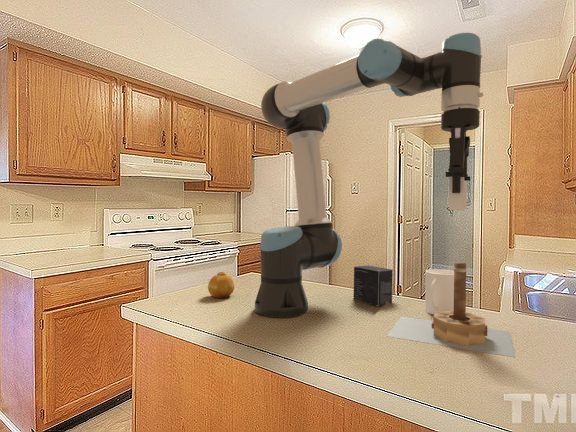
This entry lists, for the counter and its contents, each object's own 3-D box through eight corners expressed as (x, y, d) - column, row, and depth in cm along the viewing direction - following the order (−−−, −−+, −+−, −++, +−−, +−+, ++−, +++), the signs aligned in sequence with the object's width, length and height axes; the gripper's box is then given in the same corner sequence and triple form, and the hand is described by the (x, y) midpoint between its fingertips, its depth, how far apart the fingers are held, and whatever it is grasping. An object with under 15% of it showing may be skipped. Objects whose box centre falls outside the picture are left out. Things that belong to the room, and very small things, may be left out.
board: (386, 341, 81) (386, 336, 81) (401, 321, 95) (401, 316, 95) (514, 363, 70) (515, 357, 70) (509, 336, 84) (510, 331, 84)
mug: (444, 326, 91) (445, 277, 91) (412, 318, 98) (412, 273, 97) (464, 316, 99) (464, 271, 99) (433, 309, 106) (433, 267, 105)
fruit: (224, 284, 128) (216, 266, 124) (242, 289, 123) (234, 271, 119) (208, 301, 123) (199, 282, 119) (226, 307, 118) (217, 288, 114)
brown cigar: (452, 336, 81) (453, 263, 80) (453, 333, 83) (454, 261, 82) (465, 338, 79) (466, 264, 79) (465, 335, 82) (466, 262, 81)
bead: (429, 339, 79) (430, 320, 79) (435, 325, 88) (435, 308, 88) (487, 348, 74) (487, 328, 74) (487, 332, 83) (487, 315, 83)
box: (393, 303, 112) (393, 269, 112) (378, 307, 109) (378, 271, 108) (367, 296, 121) (367, 264, 121) (352, 299, 117) (352, 266, 117)
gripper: (478, 93, 67) (476, 210, 68) (480, 120, 89) (478, 208, 90) (434, 98, 71) (432, 210, 71) (446, 123, 93) (445, 208, 94)
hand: (458, 209), depth 81 cm, fingers open, 13 cm apart
